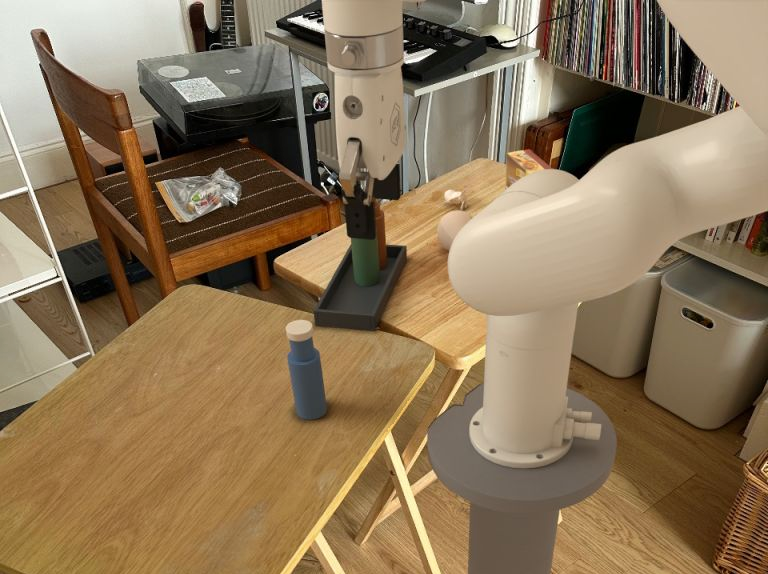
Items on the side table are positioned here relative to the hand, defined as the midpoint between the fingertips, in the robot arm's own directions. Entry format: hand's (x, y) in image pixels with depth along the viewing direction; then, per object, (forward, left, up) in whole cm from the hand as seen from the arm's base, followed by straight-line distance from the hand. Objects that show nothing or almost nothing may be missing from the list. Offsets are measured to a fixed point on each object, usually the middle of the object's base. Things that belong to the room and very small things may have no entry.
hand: (375, 217), depth 89 cm
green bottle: (+9, -26, -23) cm, 36 cm away
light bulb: (-4, -36, -24) cm, 43 cm away
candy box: (-14, -37, -24) cm, 46 cm away
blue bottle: (+8, +7, -23) cm, 26 cm away
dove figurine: (0, -54, -24) cm, 59 cm away
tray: (+9, -23, -23) cm, 34 cm away
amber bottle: (+9, -31, -23) cm, 39 cm away
